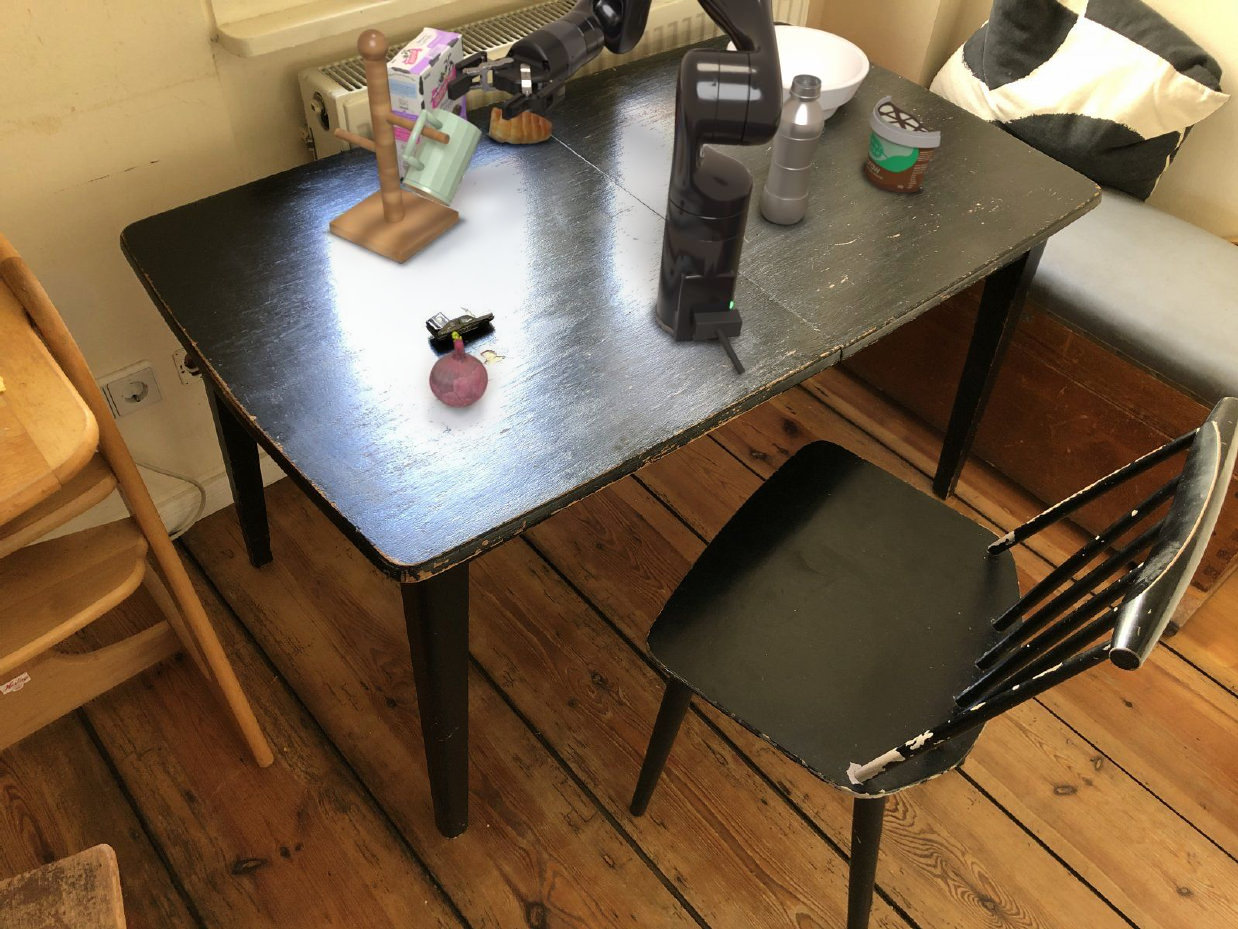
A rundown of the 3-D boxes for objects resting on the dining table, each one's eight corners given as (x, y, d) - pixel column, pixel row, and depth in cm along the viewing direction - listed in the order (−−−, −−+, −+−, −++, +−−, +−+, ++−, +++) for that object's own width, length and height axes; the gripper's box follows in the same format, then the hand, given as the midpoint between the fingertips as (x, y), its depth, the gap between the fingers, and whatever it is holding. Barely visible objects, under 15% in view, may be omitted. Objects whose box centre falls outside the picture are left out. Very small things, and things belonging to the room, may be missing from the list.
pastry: (552, 126, 155) (552, 102, 152) (550, 148, 150) (550, 125, 148) (491, 122, 155) (490, 99, 152) (487, 145, 150) (486, 121, 147)
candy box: (430, 187, 141) (420, 74, 129) (392, 178, 142) (378, 65, 130) (470, 141, 151) (464, 32, 139) (434, 133, 152) (425, 24, 140)
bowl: (785, 62, 175) (794, 13, 169) (886, 114, 164) (899, 64, 157) (691, 96, 164) (697, 45, 158) (791, 155, 153) (802, 103, 147)
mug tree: (483, 230, 135) (473, 35, 116) (426, 274, 127) (405, 74, 108) (378, 187, 141) (353, -5, 121) (318, 227, 133) (281, 29, 114)
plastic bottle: (802, 234, 138) (833, 95, 124) (754, 226, 139) (778, 88, 125) (806, 209, 143) (836, 72, 128) (759, 201, 143) (783, 65, 129)
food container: (840, 163, 152) (855, 100, 145) (872, 155, 154) (889, 93, 147) (890, 204, 145) (908, 141, 138) (923, 195, 147) (943, 132, 140)
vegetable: (498, 396, 113) (495, 326, 105) (471, 431, 109) (466, 361, 101) (451, 379, 114) (445, 309, 107) (422, 413, 110) (414, 343, 103)
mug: (418, 195, 131) (450, 123, 130) (458, 211, 128) (490, 139, 128) (374, 165, 121) (407, 88, 120) (416, 182, 118) (450, 104, 118)
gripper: (504, 15, 137) (429, 58, 127) (592, 44, 132) (522, 91, 123) (506, 69, 142) (434, 114, 133) (590, 98, 138) (523, 147, 128)
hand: (476, 102), depth 128 cm, fingers open, 8 cm apart
